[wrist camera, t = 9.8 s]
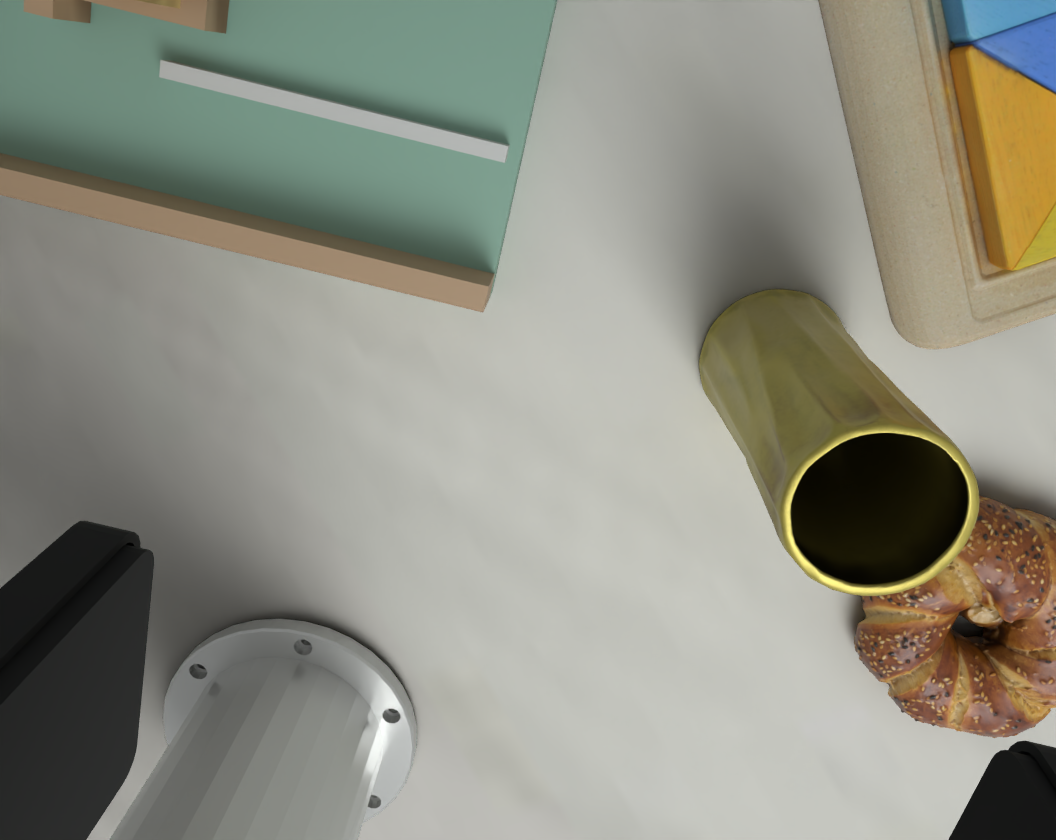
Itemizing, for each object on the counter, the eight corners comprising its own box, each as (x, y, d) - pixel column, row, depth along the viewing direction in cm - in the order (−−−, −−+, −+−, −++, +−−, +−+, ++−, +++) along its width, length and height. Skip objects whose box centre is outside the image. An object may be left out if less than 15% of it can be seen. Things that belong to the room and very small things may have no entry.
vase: (690, 300, 36) (753, 424, 23) (844, 276, 36) (1000, 390, 22) (706, 437, 38) (772, 624, 25) (852, 417, 38) (999, 598, 24)
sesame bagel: (821, 516, 40) (845, 556, 36) (1077, 454, 38) (1126, 490, 35) (869, 729, 44) (894, 784, 40) (1103, 681, 42) (1151, 734, 38)
